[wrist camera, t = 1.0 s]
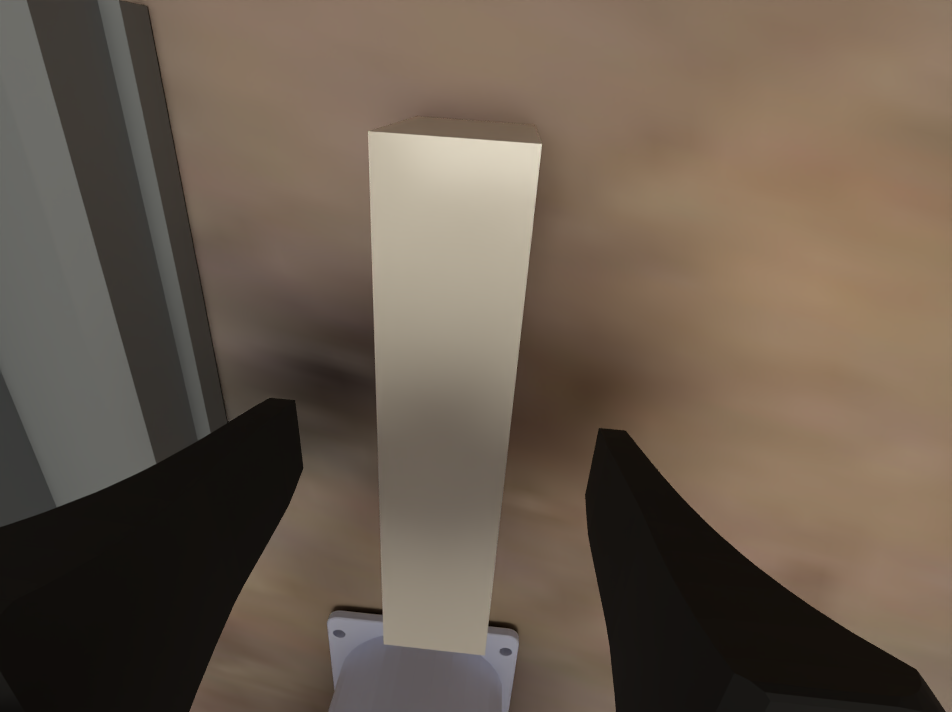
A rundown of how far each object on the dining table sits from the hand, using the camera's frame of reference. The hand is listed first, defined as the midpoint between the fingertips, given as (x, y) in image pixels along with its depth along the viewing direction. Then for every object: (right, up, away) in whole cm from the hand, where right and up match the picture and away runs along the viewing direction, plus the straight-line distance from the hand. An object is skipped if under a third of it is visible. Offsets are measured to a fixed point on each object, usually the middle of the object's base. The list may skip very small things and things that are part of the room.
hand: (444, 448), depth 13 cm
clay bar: (0, +2, +4) cm, 5 cm away
